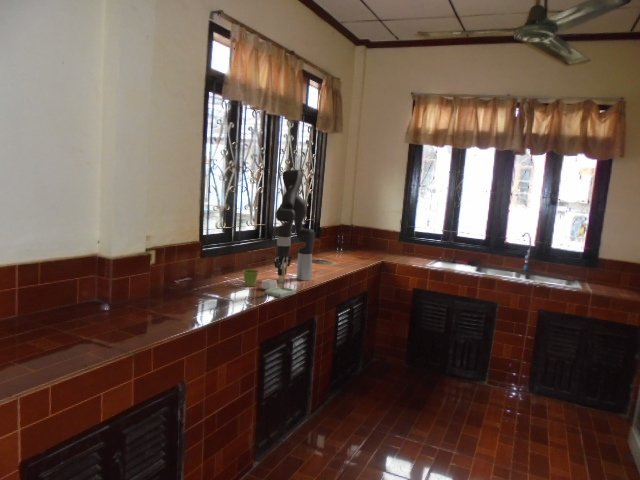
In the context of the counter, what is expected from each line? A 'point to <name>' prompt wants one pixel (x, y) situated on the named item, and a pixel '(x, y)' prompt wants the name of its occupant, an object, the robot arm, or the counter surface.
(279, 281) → the dowel
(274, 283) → the white open box
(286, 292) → the tray
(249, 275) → the plant pot
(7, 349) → the counter surface
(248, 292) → the counter surface
